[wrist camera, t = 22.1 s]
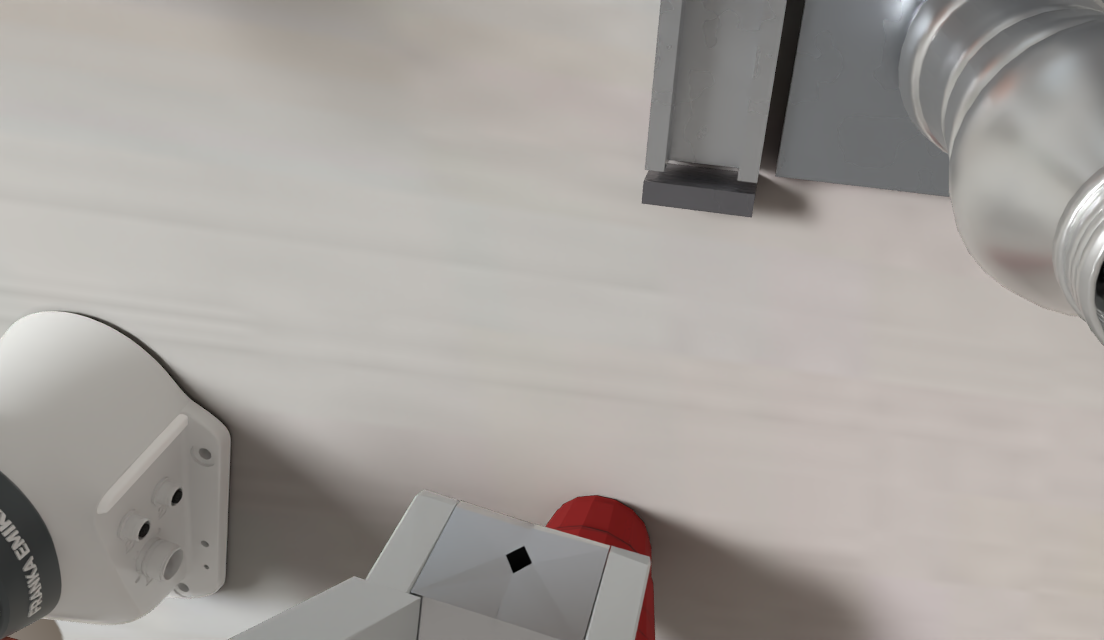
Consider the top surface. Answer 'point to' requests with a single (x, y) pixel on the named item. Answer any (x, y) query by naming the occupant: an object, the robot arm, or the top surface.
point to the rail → (711, 102)
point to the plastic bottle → (1019, 139)
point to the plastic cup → (610, 539)
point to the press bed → (856, 102)
